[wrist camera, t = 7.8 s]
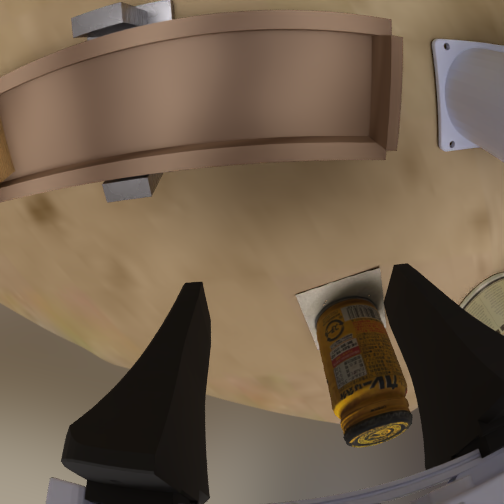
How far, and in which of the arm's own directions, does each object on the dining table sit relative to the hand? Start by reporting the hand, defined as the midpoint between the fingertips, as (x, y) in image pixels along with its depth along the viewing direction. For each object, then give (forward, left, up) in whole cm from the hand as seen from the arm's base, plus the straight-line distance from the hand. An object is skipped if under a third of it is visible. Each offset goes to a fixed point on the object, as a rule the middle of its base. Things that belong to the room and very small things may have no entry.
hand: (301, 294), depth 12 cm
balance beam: (+6, -8, -7) cm, 12 cm away
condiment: (-4, +14, -11) cm, 18 cm away
